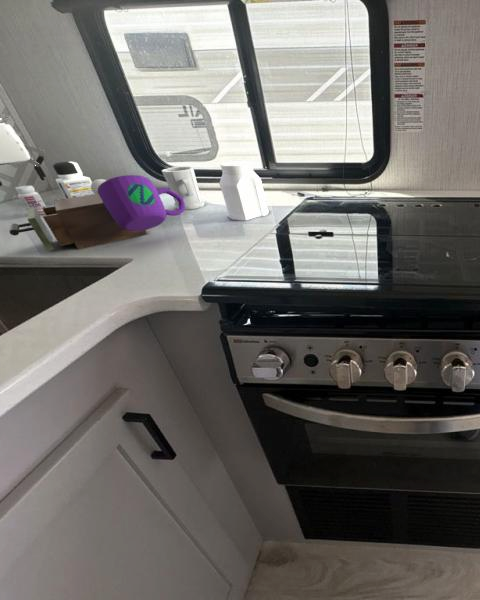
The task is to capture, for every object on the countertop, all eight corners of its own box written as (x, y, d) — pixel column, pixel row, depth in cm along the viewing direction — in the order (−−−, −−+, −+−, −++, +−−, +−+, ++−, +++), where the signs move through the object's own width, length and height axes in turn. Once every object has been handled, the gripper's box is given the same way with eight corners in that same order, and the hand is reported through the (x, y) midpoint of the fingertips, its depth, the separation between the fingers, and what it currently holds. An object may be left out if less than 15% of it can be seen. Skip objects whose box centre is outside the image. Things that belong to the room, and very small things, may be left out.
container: (74, 204, 116) (53, 165, 109) (66, 201, 120) (45, 163, 113) (100, 199, 121) (82, 161, 114) (92, 196, 125) (73, 159, 118)
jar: (237, 222, 96) (222, 168, 88) (224, 215, 102) (208, 164, 94) (273, 213, 103) (262, 162, 95) (259, 207, 109) (247, 159, 101)
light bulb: (118, 207, 112) (104, 176, 106) (128, 209, 109) (114, 178, 104) (99, 212, 107) (82, 180, 102) (109, 214, 105) (93, 182, 100)
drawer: (23, 256, 76) (0, 223, 72) (24, 243, 83) (3, 212, 79) (116, 236, 86) (102, 206, 82) (110, 225, 93) (96, 197, 89)
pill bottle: (35, 216, 105) (18, 189, 100) (26, 214, 106) (9, 188, 102) (52, 211, 109) (37, 185, 104) (43, 210, 110) (28, 184, 105)
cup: (215, 203, 114) (203, 166, 108) (197, 211, 107) (183, 172, 100) (188, 202, 116) (175, 166, 109) (168, 210, 108) (153, 171, 102)
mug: (124, 215, 74) (101, 174, 73) (112, 236, 81) (91, 199, 80) (200, 208, 88) (182, 173, 87) (185, 227, 95) (168, 195, 94)
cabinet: (77, 249, 81) (55, 210, 76) (74, 236, 89) (53, 200, 84) (147, 233, 90) (131, 198, 85) (138, 223, 97) (123, 189, 92)
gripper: (25, 117, 100) (58, 175, 110) (-61, 121, 91) (-17, 185, 100) (25, 118, 96) (59, 179, 105) (-66, 123, 86) (-19, 190, 95)
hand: (22, 182), depth 103 cm, fingers open, 9 cm apart
